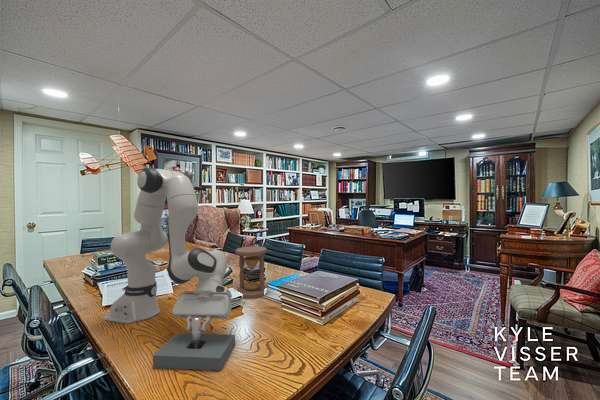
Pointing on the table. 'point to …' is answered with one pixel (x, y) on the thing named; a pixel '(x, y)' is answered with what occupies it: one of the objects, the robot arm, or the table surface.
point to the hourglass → (252, 287)
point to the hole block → (195, 352)
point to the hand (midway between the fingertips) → (195, 330)
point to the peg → (196, 333)
